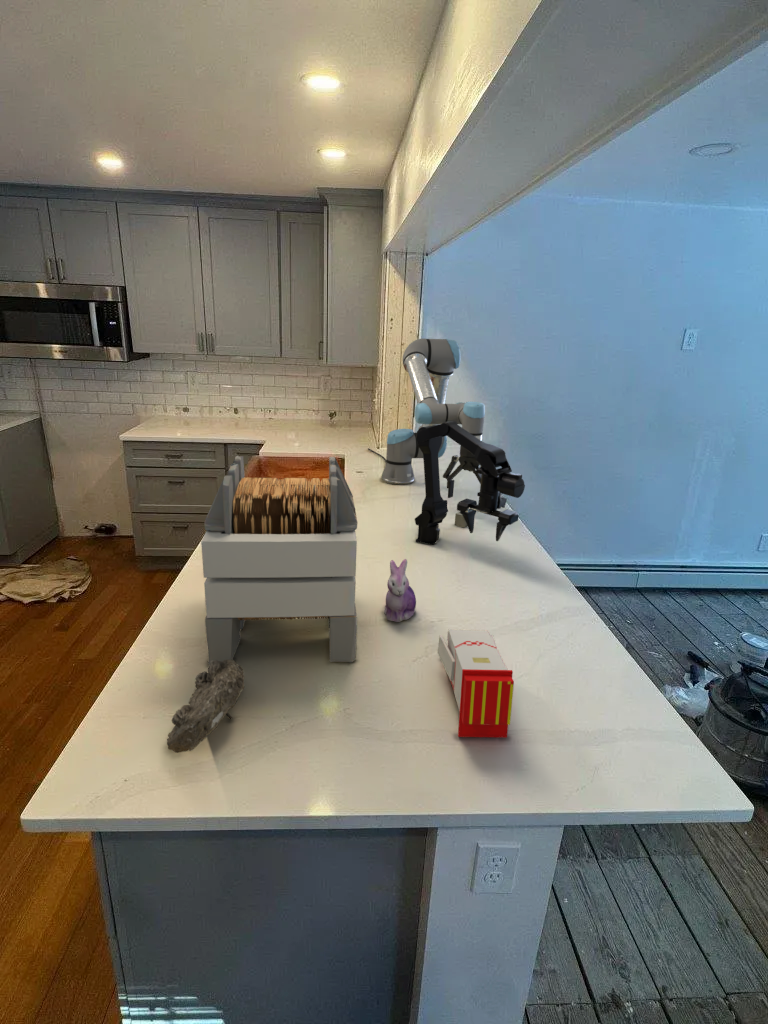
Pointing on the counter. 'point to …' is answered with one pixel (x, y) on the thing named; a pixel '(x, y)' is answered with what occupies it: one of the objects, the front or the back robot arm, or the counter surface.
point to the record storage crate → (280, 557)
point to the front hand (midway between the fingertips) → (484, 536)
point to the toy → (478, 682)
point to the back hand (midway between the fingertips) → (465, 501)
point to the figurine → (399, 594)
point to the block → (460, 520)
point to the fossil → (206, 705)
